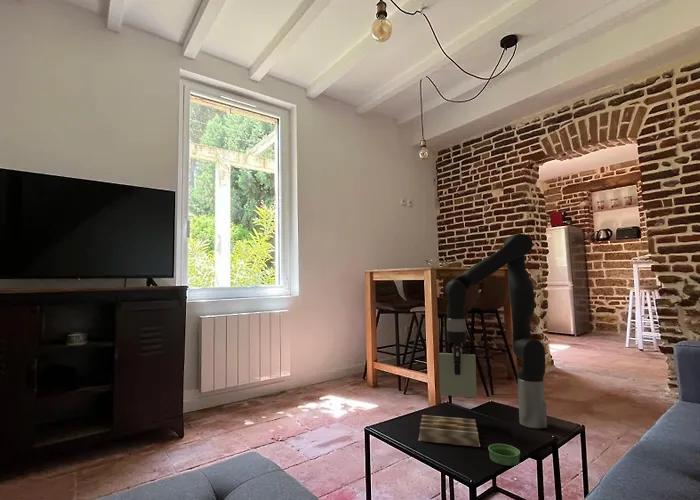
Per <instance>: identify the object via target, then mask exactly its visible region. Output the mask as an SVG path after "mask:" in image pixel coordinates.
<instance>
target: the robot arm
mask: <svg viewBox="0 0 700 500" xmlns="http://www.w3.org/2000/svg"><path fill="white" fill-rule="evenodd" d="M532 249H533V240H532V238H531V237H530V236H529V235H527V234H525V233H515V234H513V235H510V236H508V237H507V238H505V240H504V242H503V246H502V247H501V248H500V249H499V250H497V251H496V252H494V253H492V254H491V255H489V256H488V257H486V258H483V259H482V260H480V261H479V262H477V263H475V264H474V265H473V266H471V267H470V268H468V269H467V270H465V271H464V272H462V274H460V275H458V276H456V277H455V278H453V279H451V280H450V281H448V282H447V283H446V284H445V289H444V290H445V291H444V292H445V293H446V295H447V296H448V304H447V306H446V342H448V343H452V344H453V345H451V352H452V353H451V354H453V359H454V365H455V375H460V374H461V373H460V365H461V359H462V354H463V347H462V345H461V344H463V343H464V344H465V343H467V324H466V309H465V305H466V300H467V299H466V298H467V291H468V290H469V289H470V288H472V287H475V286H477V285H478V284H480V283H482V282H483V281H484V280H486V279H488V278H489V277H490V276H492V275H493V274H494V273H496V272H497V271H499V269H501V268H503V267H504V266H506V269H507V277H508V278H507V279H508V280H507V281H508V293H509V302H510V309H511V323H512V350H513V353H514V355H515V357H516V358H518V359H519V360H522V368H521V369H518V371H517V392H518V395H517V396H518V413H519V414H518V415H519V416H518V420H519V425H522V426H523V427H527V428H532V429H543V428H544V429H548V417H547V415H548V414H547V403H546V400H545V387H544V376H545V373H546V350H545V347H544V344H543V343H542V342H541V341H540V340H538V339H535V338H532V335H531V320H532V317H533V314H534V311H535V308H536V307H535V306H536V297H535V290H534V285H533V283H532V281H531V279H530V276H529V274H528V271H527V268H526V259H525V256H526V255H528V254H529V253H530V252H531V251H532ZM456 360H459V361H456Z"/></svg>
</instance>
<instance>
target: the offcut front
mask: <svg viewBox="0 0 700 500" xmlns="http://www.w3.org/2000/svg"><path fill="white" fill-rule="evenodd" d="M433 428H438V429H448V430H458V426H457V424H446V423H434V422H433Z"/></svg>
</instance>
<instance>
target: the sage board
mask: <svg viewBox="0 0 700 500" xmlns="http://www.w3.org/2000/svg"><path fill="white" fill-rule="evenodd" d="M438 359H439V360H438V367H439V368H438V370H439V371H438V372H439V395H440V396H452V397H466V398H467V397H468V398H477V397H478V394H477V371H476V370H477V363H476V362H477V361H476V354H470V353H468V354H467V353H462V359H461V365H460V373H461V374H460V375H455V365H454V359H453V353H450V352H449V353H448V352H439V353H438ZM456 361H459V360H456Z"/></svg>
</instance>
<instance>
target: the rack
mask: <svg viewBox="0 0 700 500" xmlns="http://www.w3.org/2000/svg"><path fill="white" fill-rule="evenodd" d="M440 419H447V420H458V421H463V426H458V430H448V429H438V428H433V422H434V423H440V422H439V420H440ZM417 440H418V442H419V441H420V442H428V443H429V442H430V443H437V444H438V443H440V444H447V445H448V444H449V445H456V446H466V447H467V446H469V447H479V448H480V447H481V444H480V439H479V432H478V427H477V423H476V419H473V418H464V417H453V416H451V417H449V416H438V415H428V414H427V415H426V414H421V421H420V426H419V435H418V439H417Z"/></svg>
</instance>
